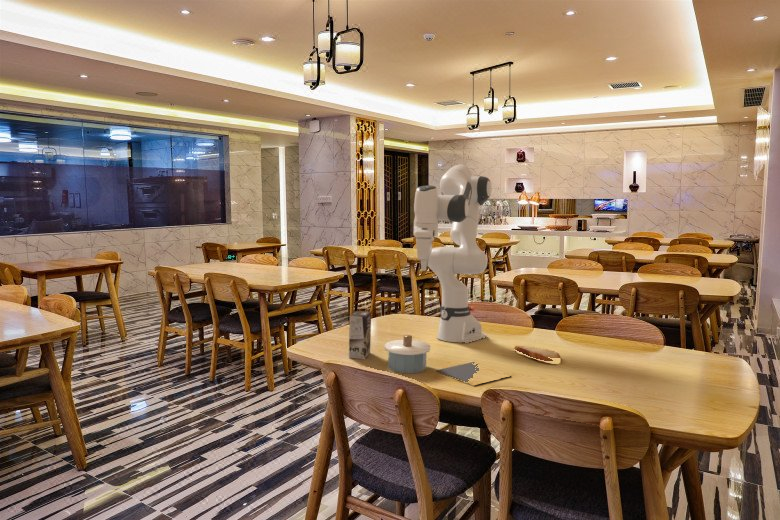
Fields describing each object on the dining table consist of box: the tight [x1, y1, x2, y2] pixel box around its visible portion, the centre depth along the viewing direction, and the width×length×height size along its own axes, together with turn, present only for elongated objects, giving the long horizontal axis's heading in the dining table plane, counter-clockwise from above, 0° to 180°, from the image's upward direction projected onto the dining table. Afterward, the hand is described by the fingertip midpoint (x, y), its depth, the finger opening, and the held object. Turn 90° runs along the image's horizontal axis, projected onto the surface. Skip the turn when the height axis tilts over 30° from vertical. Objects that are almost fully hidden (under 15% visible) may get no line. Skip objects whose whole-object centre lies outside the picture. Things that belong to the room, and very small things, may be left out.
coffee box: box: [348, 310, 372, 360], centre depth 208 cm, size 9×6×16 cm
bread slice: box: [513, 345, 562, 361], centre depth 213 cm, size 18×18×4 cm
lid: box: [384, 334, 431, 355], centre depth 194 cm, size 16×16×4 cm
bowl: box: [387, 351, 427, 374], centre depth 195 cm, size 13×13×7 cm
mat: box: [436, 361, 479, 382], centre depth 190 cm, size 18×18×1 cm
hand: (424, 268), depth 203 cm, fingers open, 8 cm apart
